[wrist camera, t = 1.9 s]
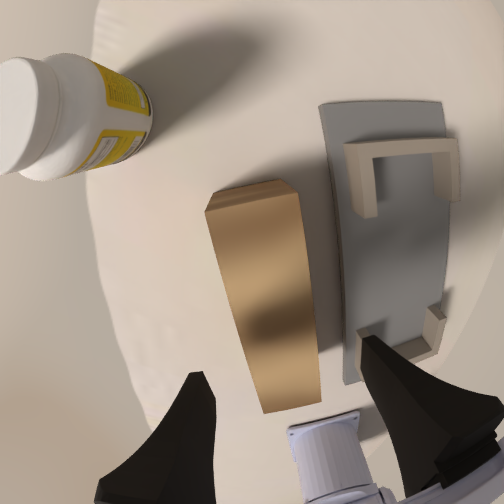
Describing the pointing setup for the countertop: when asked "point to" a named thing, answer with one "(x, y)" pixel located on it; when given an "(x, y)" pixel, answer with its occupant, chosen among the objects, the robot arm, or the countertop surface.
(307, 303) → the oak slat
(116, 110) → the supplement bottle
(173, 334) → the countertop surface
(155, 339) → the countertop surface
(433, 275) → the cap board
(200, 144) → the countertop surface
